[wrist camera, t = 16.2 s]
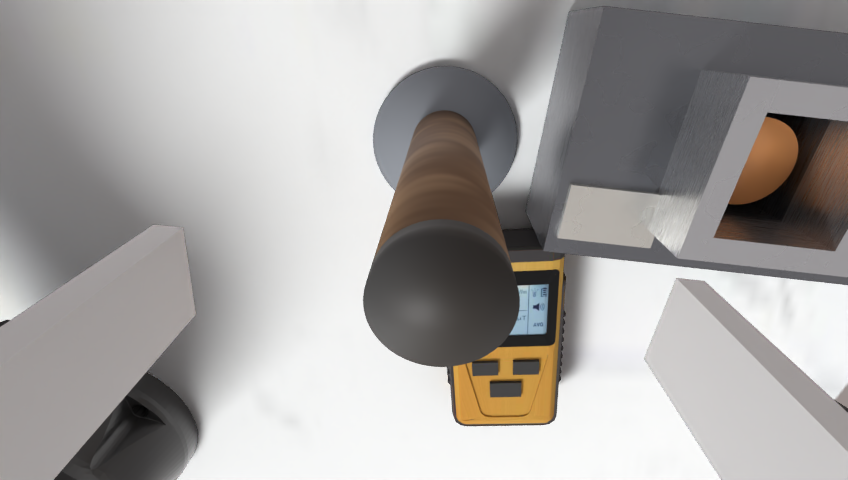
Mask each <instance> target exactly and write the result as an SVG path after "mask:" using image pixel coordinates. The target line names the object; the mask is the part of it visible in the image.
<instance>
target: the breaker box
mask: <svg viewBox="0 0 848 480" xmlns="http://www.w3.org/2000/svg"><path fill="white" fill-rule="evenodd" d="M765 117H770V118H773V119H777V120H780V121H782V122H784V123H785V124H787V125H788V126H789V127H790V128H791V129H792V130H793V132H794V134H795V135H796V138H797V142H798V156H797V160H796V163H795V166H794V168H793V170H792V172H791V173H790V175H789V176H788V178H787V179H786V180H785V181H784V182H783V184H782V185H781V186H779V187H778V188H777V189H776V190H775V191H773V192H772V193H771V194H769V195H767V196H766V197H764V198H762V199H760V200H757V201H754V202H751V203H747V204H738V205H736V204H728V203H729V200H730V198H731V196H732V193H733V191H734V189H735V186H736V184H737V182H738V179H739V177H740V175H741V173H742V170H743V168H744V166H745V163H746V161H747V159H748V156H749V154H750V152H751V149H752V147H753V145H754V142H755V140H756V138H757V136H758V133H759V131H760V129H761V126H762V124H763V122H764V119H765ZM526 213H527V215H528V218H529V220H530V222H531V224H532V227H533V229H534V231H535V234H536V236H537V238H538V240H539V243H540V245H541V247H542V249H543V251H547V252H556V253H565V254H574V255H583V256H592V257H601V258H610V259H619V260H628V261H637V262H646V263H655V264H664V265H673V266H682V267H691V268H700V269H708V270H717V271H726V272H735V273H744V274H753V275H762V276H771V277H780V278H789V279H798V280H807V281H816V282H825V283H834V284H843V285H848V34H847V33H838V32H830V31H821V30H812V29H803V28H794V27H785V26H776V25H768V24H759V23H750V22H741V21H732V20H723V19H714V18H706V17H697V16H688V15H679V14H670V13H661V12H652V11H644V10H635V9H626V8H617V7H608V6H601V7H595V8H588V9H582V10H576V11H570V12H569V14H568V18H567V23H566V27H565V32H564V37H563V41H562V46H561V50H560V55H559V59H558V64H557V69H556V73H555V78H554V82H553V87H552V92H551V96H550V101H549V105H548V110H547V114H546V119H545V124H544V128H543V133H542V137H541V142H540V147H539V151H538V156H537V160H536V165H535V169H534V174H533V179H532V183H531V188H530V192H529V197H528V202H527V206H526Z"/></svg>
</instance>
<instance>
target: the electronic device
mask: <svg viewBox="0 0 848 480" xmlns="http://www.w3.org/2000/svg"><path fill="white" fill-rule="evenodd" d="M502 232H503V236H504V239H505V243H506V247H507V250H508V254H509V257H510V261H511V265H512V268H513V272H514V275H515V279H516V282H517V286H518V290H519V296H520V308H519V314H518V318H517V321H516V324H515V326H514V328H513V330H512V331H511V333H510V334H509V336H508V337H507V339H506V340H505V341H504V342H503V343H502V344H501V345H500V346H499V347H498V348H496V349H495V350H494V351H493V352H491V353H490V354H488V355H486V356H485V357H483V358H481V359H479V360H476V361H473V362H471V363H467V364H463V365H458V366H451V367H447V375H448V383H449V384H450V385H451V399H452V413H453V416H454V418H455V421H456V422H457V423H459V424H460V425H463V426H511V425H546V424H550V423H551V422H553V421H554V420H555V418H556V413H557V398H558V384H559V381H560V380H561V377H560V373H561V368H560V366H561V365H562V362H561V358H562V356H563V355H562V352H561V351H562V350H563V346H562V342H563V341H564V339H563V336H562V334H563V333H564V329H563V325H564V324H565V321H564V319H563V317H564V316H565V314H566V313H565V311H564V298H565V283H566V276H565V274H564V272H563V268H564V257H565V253H556V252H547V251H543V249H542V247H541V245H540V243H539V240H538V238H537V236H536V234H535V231H534V229H533V228H532V229H512V230H502Z"/></svg>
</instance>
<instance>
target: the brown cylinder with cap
mask: <svg viewBox="0 0 848 480" xmlns="http://www.w3.org/2000/svg"><path fill="white" fill-rule="evenodd" d="M363 304H364V311H365V316H366V319H367V322H368V324H369V326H370V328H371V330H372V331H373V333H374V334H375V336H376V337H377V338H378V339H379V340H380V341H381V343H382V344H383V345H385V346H386V347H387V348H388V349H389V350H391V351H392V352H394V353H395V354H397V355H399V356H400V357H402V358H404V359H407V360H409V361H412V362H415V363H418V364H422V365H427V366H436V367H451V366H458V365H463V364H467V363H471V362H473V361H476V360H479V359H481V358H483V357H485V356H486V355H488V354H490V353H491V352H493V351H494V350H495V349H496V348H498V347H499V346H500V345H501V344H502V343H503V342H504V341H505V340H506V339H507V337H508V336H509V334H510V333H511V331H512V330H513V328H514V326H515V324H516V321H517V318H518V314H519V308H520V296H519V290H518V286H517V282H516V279H515V275H514V272H513V268H512V265H511V261H510V257H509V254H508V250H507V247H506V243H505V239H504V236H503V232H502V229H501V225H500V222H499V218H498V214H497V211H496V207H495V204H494V200H493V196H492V193H491V189H490V186H489V182H488V179H487V175H486V171H485V168H484V164H483V161H482V157H481V153H480V150H479V146H478V143H477V139H476V136H475V132H474V130H473V127H472V126H471V124H470V123H469V121H468V120H467V119H466V118H464V117H463V116H462V115H460V114H458V113H456V112H453V111H448V110H442V111H436V112H433V113H431V114H429V115H427V116H426V117H424V118H423V119H422V120H421V121H420V122H419V123H418V125H417V127H416V128H415V131H414V134H413V137H412V140H411V143H410V146H409V149H408V153H407V156H406V159H405V162H404V165H403V168H402V171H401V175H400V178H399V181H398V184H397V187H396V190H395V193H394V197H393V200H392V203H391V206H390V209H389V212H388V216H387V219H386V222H385V225H384V228H383V231H382V234H381V238H380V241H379V244H378V247H377V250H376V253H375V257H374V260H373V263H372V266H371V269H370V272H369V275H368V279H367V282H366V285H365V289H364V296H363Z"/></svg>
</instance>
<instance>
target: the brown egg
mask: <svg viewBox="0 0 848 480" xmlns="http://www.w3.org/2000/svg"><path fill="white" fill-rule="evenodd" d="M797 156H798V142H797V138H796V135H795V134H794V132H793V130H792V129H791V128H790V127H789V126H788V125H787V124H785V123H784V122H782V121H780V120H777V119H773V118H770V117H765V119H764V122H763V124H762V126H761V129H760V131H759V133H758V136H757V138H756V140H755V142H754V145H753V147H752V149H751V152H750V154H749V156H748V159H747V161H746V163H745V166H744V168H743V170H742V173H741V175H740V177H739V179H738V182H737V184H736V186H735V189H734V191H733V193H732V196H731V198H730V200H729V203H728V204H736V205H738V204H747V203H751V202H754V201H757V200H760V199H762V198H764V197H766V196H767V195H769V194H771V193H772V192H773V191H775V190H776V189H777V188H778V187H779V186H781V185H782V184H783V182H784V181H785V180H786V179H787V178H788V176H789V175H790V173H791V172H792V170H793V168H794V166H795V163H796V160H797Z"/></svg>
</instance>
